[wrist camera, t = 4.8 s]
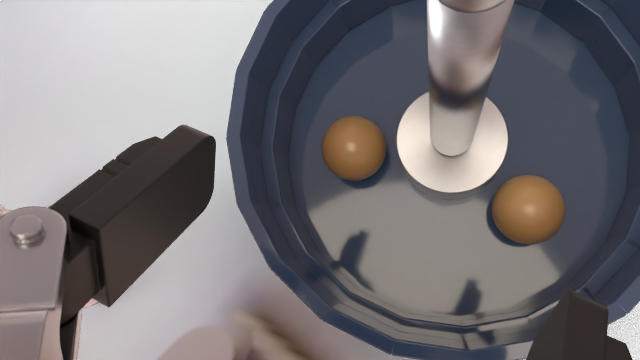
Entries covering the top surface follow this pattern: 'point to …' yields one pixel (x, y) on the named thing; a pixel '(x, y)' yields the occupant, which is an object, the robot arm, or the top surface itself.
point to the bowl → (426, 211)
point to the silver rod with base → (457, 102)
